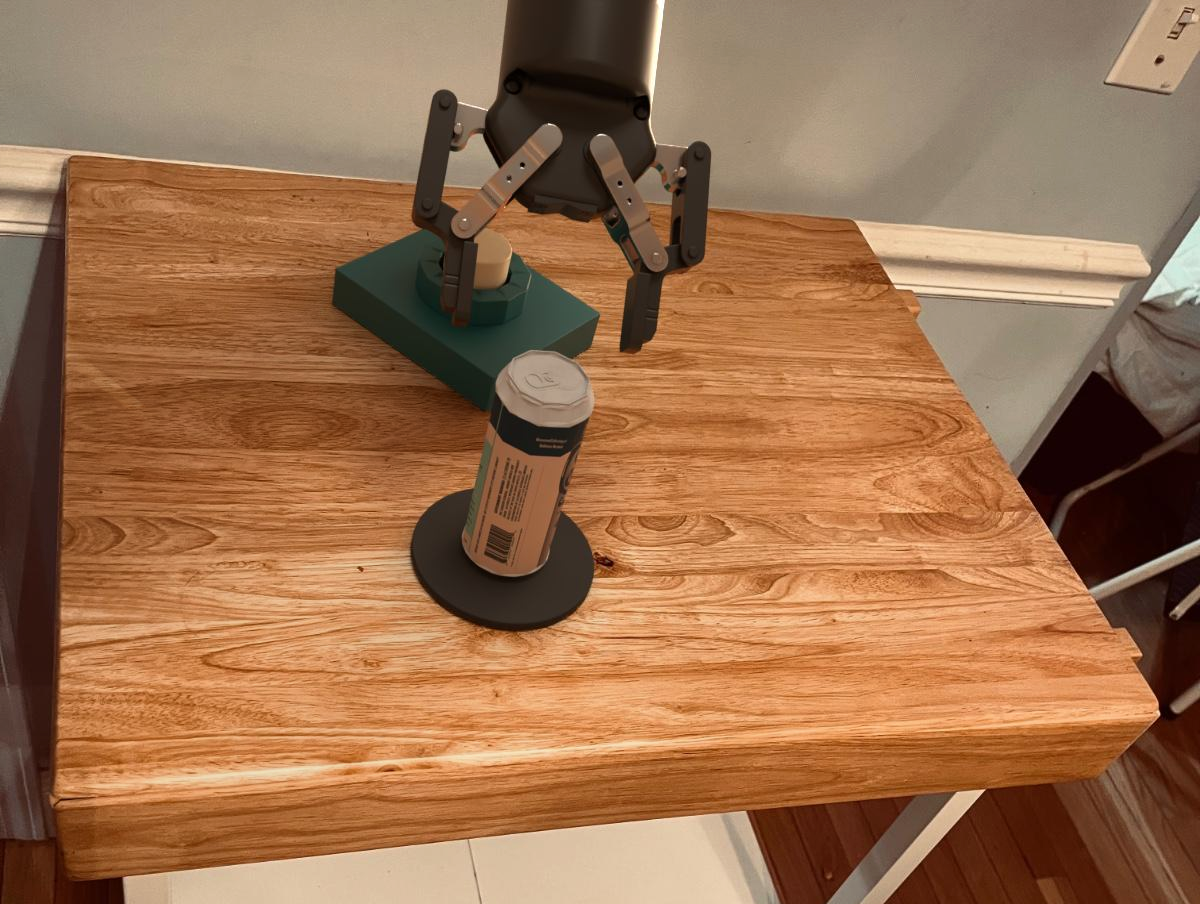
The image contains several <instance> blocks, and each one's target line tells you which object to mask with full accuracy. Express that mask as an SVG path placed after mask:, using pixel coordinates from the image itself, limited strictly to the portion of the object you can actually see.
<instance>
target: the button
mask: <svg viewBox="0 0 1200 904" xmlns="http://www.w3.org/2000/svg"><path fill="white" fill-rule="evenodd" d="M474 243H478V252H477V261H476V269H475V278H474V287H473V289H477V290H488V289H498V288H500V287H501V286H502V285H503V284H504V283H505V281H506V278H507V273H508V269H509V264H510V259H511V255H512V251H513V248H512V246H511V243H510V242H509V241H508V239H506V238H505V236H503V235H502V234H500V233H499V232H497V231H495V230H492V229H489V228H487V227H486V228H485V229H484V230H483V231H482V232H481V233H480V234H479V235H478V236H477V237H476V238H475V239H474ZM444 260H445V257H444ZM443 269H444V263H443Z"/></svg>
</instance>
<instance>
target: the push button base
mask: <svg viewBox="0 0 1200 904" xmlns="http://www.w3.org/2000/svg"><path fill="white" fill-rule="evenodd" d="M444 257H445V245H444V243H443V241H442V239H441V238H440V237H439V236H437V235H436V234H434V233H432V232H430V231H428V230H427V229H420V230H417V231H415V232H413V233H410V234H407V235H406V236H403V237H402V238H399V239H398V240H395V241H392V242H391V243H389V244H386V245H384V246H381V247H379V248H377V249H375V250H373V251H371V252H368V253H367V254H364V255H362V256H360V257H357V258H354V259H353V260H351V261H348V262H346V263H344V264H342V265H339V266H337V267H335V269H334V279H333V289H332V290H333V291H332V299H331V301H332V302H331V304H332V305H333V306H334V307H335V308H337V309H338V310H340V311H341V312H343V313H344V314H345V315H347V316H348V317H350V318H351V319H353V320H354V321H355V322H357V323H358V324H360V325H361V326H363V328H365V329H367V330H368V331H370V332H371V333H372V334H374V335H375V336H377V337H378V338H379V339H381V341H384V342H385V343H386V344H388V345H389V346H391V347H392V348H394V349H395V350H396V351H398V352H399V353H400V354H402V355H403V356H404V357H406V358H408V359H409V360H411V361H412V362H414V363H415V364H416V365H417V366H419V367H420V368H422V369H423V370H425V371H427V373H429V374H431V376H433V377H435V378H436V379H438V380H439V381H440V382H442V383H443V384H444V385H446V386H447V387H449V388H450V389H451V390H453V391H454V392H456V393H458V394H459V395H460V396H461V397H463V398H465V400H467V401H468V402H470V403H471V404H473V405H474V406H476V407H477V408H478V409H480V410H481V411H483V412H484V413H487V412H489V411H490V410H492V406H493V401H494V397H495V392H496V380H497V378H498V375H499V374H500V372H501V371H502V370H503V369H504V368H505V367H506V366H507V365H508V364H509V363H510V362H511V361H512V359H513V358H515V357H517V356H519V355H521V354H523V353H525V352H528V351H530V350H537V351H551V352H557V353H559V354H561V355H563V356H565V357H567V358H569V359H571V360H573V359H574V358H575V357H576V356H578V355H579V354H581V353H583V352H585V351H586V350H588V349H589V348H591V347H592V345H593V342H594V338H595V335H596V331H597V328H598V324H599V322H600V318H601V312H599V311H598V310H596V309H595V308H593V307H592V306H590V305H589V304H587V303H586V302H584V300H581V299H579V298H578V297H576V296H575V295H574V294H572V293H571V292H569V291H567V290H566V289H564V288H563V287H561V286H560V285H558V284H557V283H555V282H554V281H552V280H551V279H549V278H548V277H546V276H545V275H544V274H542V273H541V272H539V271H537V270H535V269H534V268H532V267H531V266H529V265H528V264H526V263H525V261H524V260H523V258H522V256H520V255H519V254H517V253H516V252H515V251H513V250H512V255H511V259H510V264H509V269H508V273H507V278H506V281H505V283H504V284H503V285H502V286H501V287H500V288H498V289H488V290H477V289H473V296H472V305H471V313H470V320H469V323H468V325H467V326H466V327H460V326H454V325H452V313H450V312H444V311H443V310H442V306H441V302H440V295H441V286H442V277H443V263H444Z"/></svg>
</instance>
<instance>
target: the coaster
mask: <svg viewBox="0 0 1200 904" xmlns="http://www.w3.org/2000/svg"><path fill="white" fill-rule="evenodd" d="M473 491H474V487H472V488H467V489H463V490H459V491H456V492H452V493H450V494H447V495H446V496H443V497H442V498H439V499H438V500H436V501H435V502H434V503H432V504H431V505H430V506H429V507H428V508H427V509H426V510H425V511H424V512H423V513H422V514H421V516H420V517H419V519H418V520H417V522H416V524H415V527H414V529H413V533H412V538H411V545H410V555H411V563H412V567H413V569H414V572H415V574H416V576H417V578H418V580H419V582H420V583H421V585H422V586H423V588H424V589H425V591H427V593H428V594H429V595H430V596H431V597H432V598H433V599H434V600H435V601H436V602H437V603H438V604H439V605H441V606H442V607H443V608H445V609H446V610H448V611H449V612H451V613H452V614H454V615H456V616H458V617H460V618H462V619H464V620H466V621H468V622H471V623H473V624H477V625H480V626H482V627H487V628H492V629H495V630H503V631H505V630H506V631H527V630H528V631H529V630H536V629H540V628H545V627H548V626H552V625H554V624H558V622H560V621H562V620H564V619H566V618H568V617H569V616H570V615H572V614H573V613H574V612H575V611H576V610H577V609H579V608H580V607H581V606H582V604H583V602H584V601H585V600H586V599H587V596H588V594H589V592H590V590H591V587H592V585H593V581H594V577H595V566H596V565H595V558H594V553H593V550H592V547H591V545H590V543H589V541H588V539H587V537H586V536H585V534H584V532H583V530H581V528H580V527H579V526H578V525H577V523H575V521H574V520H572V518H571V517H570V516H569V515H567V513H565V512H563V511H562V510H561V513H560V516H559V520H558V523H557V526H556V529H555V533H554V536H553V539H552V543H551V546H550V549H549V555H548V559H547V561H546V562H545V564H544V565H543V566H542V567H541V568H540V569H538V570H537V571H535V572H533V573H530V574H528V575H524V576H517V577H510V576H500V575H496V574H493V573H490V572H489V571H487V570H485V569H483V568H481V567H479V566H478V565H477V564H475V563H474V562H473V561H472V560H471V559H470V558H469V556H468V555H467V553H466V552H465V549H464V547H463V544H462V533H463V530H464V528H465V526H466V522H467V518H468V513H469V509H470V504H471V500H472V495H473Z"/></svg>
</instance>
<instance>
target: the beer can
mask: <svg viewBox="0 0 1200 904" xmlns="http://www.w3.org/2000/svg"><path fill="white" fill-rule="evenodd" d="M591 384H592V383H591V378H590V377H589V375H588V373H586V371H585V370H584V368H583V367H582V366H581V365H580V363H579V362H578V361H575V360H573V359H569V358H567V357H565V356H563V355H561V354H559V353H557V352H551V351H537V350H530V351H528V352H525V353H523V354H521V355H519V356H517V357H515V358H513V359H512V361H511V362H510V363H509V364H508V365H507V366H506V367H505V368H504V369H503V370H502V371H501V372H500V374H499V375H498V378H497V380H496V392H495V397H494V401H493V406H492V409H491V411H490V416H489V419H488V423H487V429H486V432H485V433H486V434H485V438H484V442H483V446H482V450H481V455H480V460H479V463H478V464H479V465H478V469H477V474H476V478H475V482H474V486H473V488H474V491H473V495H472V500H471V504H470V509H469V513H468V518H467V522H466V526H465V528H464V530H463V533H462V544H463V547H464V549H465V552H466V553H467V555H468V556H469V558H470V559H471V560H472V561H473V562H474V563H475V564H477V565H478V566H479V567H481V568H483V569H485V570H487V571H489V572H490V573H493V574H496V575H500V576H510V577H517V576H524V575H528V574H530V573H533V572H535V571H537V570H538V569H540V568H541V567H542V566H543V565H544V564H545V562H546V561H547V559H548V555H549V549H550V546H551V543H552V539H553V536H554V533H555V529H556V526H557V523H558V520H559V516H560V513H561V511H562V510H563V506H564V503H565V500H566V497H567V494H568V489H569V487H570V483H571V480H572V477H573V473H574V470H575V467H576V464H577V461H578V457H579V454H580V450H581V447H582V443H583V442H584V437H585V434H586V431H587V428H588V424H589V420H590V418H591V415H592V413H593V411H594V408H595V403H596V401H595V394H594V391H593V388H592V385H591Z"/></svg>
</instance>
